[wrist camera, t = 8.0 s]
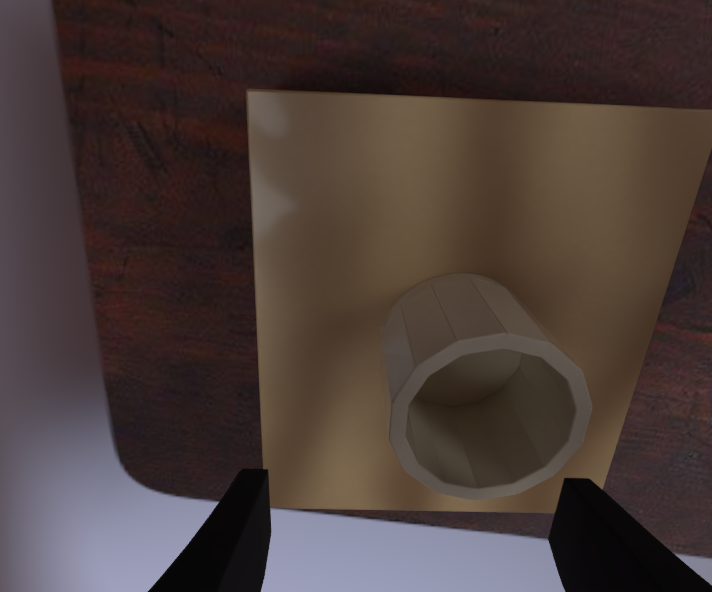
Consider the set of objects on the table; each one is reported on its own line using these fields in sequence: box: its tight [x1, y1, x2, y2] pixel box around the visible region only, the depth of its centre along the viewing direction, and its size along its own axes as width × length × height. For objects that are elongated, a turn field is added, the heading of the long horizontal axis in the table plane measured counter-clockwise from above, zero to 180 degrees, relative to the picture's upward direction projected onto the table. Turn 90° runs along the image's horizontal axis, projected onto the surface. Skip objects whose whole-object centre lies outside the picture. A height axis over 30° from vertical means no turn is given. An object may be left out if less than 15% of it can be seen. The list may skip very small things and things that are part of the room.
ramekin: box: [380, 273, 592, 500], centre depth 14 cm, size 5×5×4 cm
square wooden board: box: [246, 88, 712, 513], centre depth 18 cm, size 14×16×4 cm
